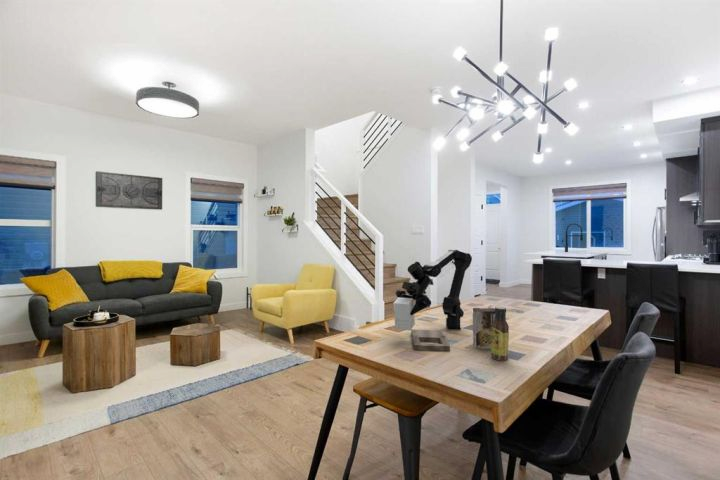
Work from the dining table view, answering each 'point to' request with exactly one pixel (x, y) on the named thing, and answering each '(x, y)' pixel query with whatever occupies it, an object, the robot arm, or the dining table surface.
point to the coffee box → (482, 327)
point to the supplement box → (403, 313)
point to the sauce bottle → (500, 335)
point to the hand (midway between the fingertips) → (403, 312)
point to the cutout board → (429, 340)
